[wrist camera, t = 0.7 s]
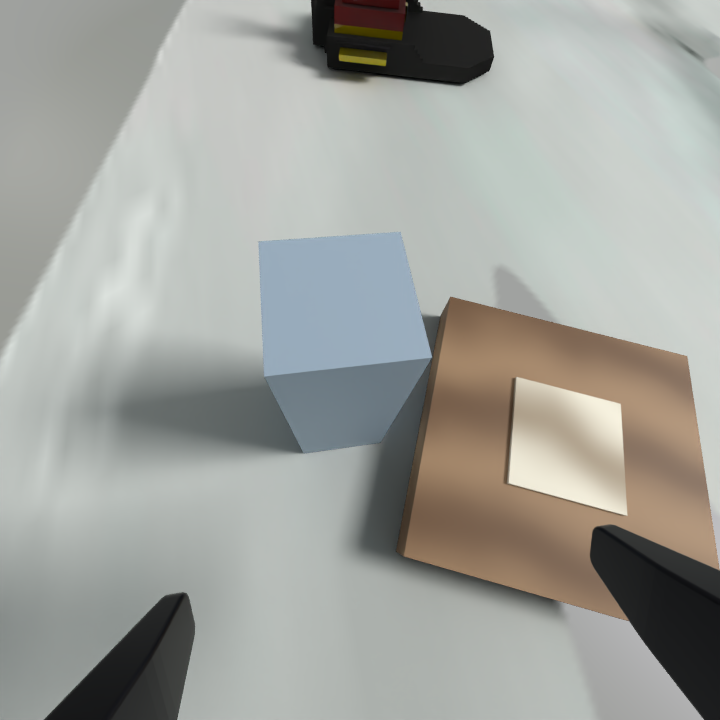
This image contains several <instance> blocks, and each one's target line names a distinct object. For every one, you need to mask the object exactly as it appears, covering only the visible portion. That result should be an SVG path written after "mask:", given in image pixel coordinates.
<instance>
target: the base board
mask: <svg viewBox="0 0 720 720" xmlns="http://www.w3.org/2000/svg"><path fill="white" fill-rule="evenodd" d="M608 524H613V525H616V526H618V527H621V528H623V529H625V530H628V531H630V532H632V533H635V534H637V535H639V536H641V537H644V538H646V539H648V540H651V541H653V542H655V543H658V544H660V545H662V546H665V547H667V548H669V549H672V550H674V551H676V552H679V553H681V554H683V555H685V556H688V557H690V558H692V559H695V560H697V561H699V562H702V563H704V564H706V565H709V566H711V567H713V568H716V569H718V570H720V569H719V563H718V557H717V550H716V543H715V536H714V530H713V523H712V517H711V510H710V503H709V497H708V490H707V484H706V477H705V471H704V464H703V457H702V451H701V444H700V438H699V431H698V424H697V418H696V411H695V405H694V398H693V392H692V385H691V378H690V372H689V365H688V359H687V356H684V355H680V354H676V353H672V352H668V351H664V350H660V349H656V348H652V347H648V346H644V345H640V344H637V343H633V342H629V341H625V340H621V339H617V338H613V337H609V336H605V335H601V334H597V333H593V332H589V331H585V330H581V329H577V328H573V327H569V326H565V325H561V324H557V323H553V322H549V321H545V320H541V319H537V318H533V317H529V316H525V315H521V314H517V313H513V312H509V311H505V310H501V309H497V308H493V307H489V306H485V305H481V304H477V303H473V302H469V301H465V300H461V299H457V298H453V297H450V299H449V301H448V303H447V304H446V306H445V308H444V310H443V312H442V314H441V316H440V321H439V327H438V332H437V337H436V342H435V348H434V353H433V358H432V364H431V369H430V374H429V379H428V385H427V390H426V395H425V401H424V406H423V411H422V417H421V422H420V427H419V432H418V438H417V443H416V448H415V454H414V459H413V464H412V469H411V475H410V480H409V485H408V491H407V496H406V501H405V506H404V512H403V517H402V522H401V528H400V533H399V538H398V543H397V549H396V552H397V553H399V554H401V555H402V556H404V557H408V558H411V559H415V560H418V561H422V562H425V563H429V564H432V565H436V566H439V567H443V568H446V569H449V570H453V571H456V572H460V573H463V574H467V575H470V576H474V577H477V578H481V579H484V580H488V581H491V582H495V583H498V584H502V585H505V586H508V587H512V588H515V589H519V590H522V591H526V592H529V593H533V594H536V595H540V596H543V597H547V598H550V599H554V600H557V601H561V602H564V603H567V604H571V605H574V606H578V607H581V608H585V609H589V610H592V611H595V612H599V613H602V614H606V615H609V616H613V617H616V618H619V619H623V620H627V621H629V620H628V618H627V617H626V615H625V614H624V612H623V611H622V609H621V608H620V606H619V605H618V603H617V602H616V600H615V599H614V598H613V596H612V595H611V593H610V592H609V590H608V589H607V587H606V586H605V584H604V583H603V581H602V580H601V578H600V577H599V575H598V574H597V572H596V571H595V569H594V567H593V565H592V563H591V560H590V547H591V538H592V531H593V529H594V528H595V527H596V526H601V525H608Z"/></svg>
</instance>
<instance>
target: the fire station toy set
mask: <svg viewBox="0 0 720 720" xmlns="http://www.w3.org/2000/svg"><path fill="white" fill-rule="evenodd" d="M311 7H312V27H313V45H321V46H325V53H327V63H328V67H329V68H337V69H346V70H355V71H364V72H372V73H381V74H390V75H399V76H408V77H416V78H425V79H434V80H443V81H451V82H460V83H466V82H469V80H472V78H473V79H475V77H478V76H481V74H484V73H486V72H487V71H488V72H489V70H490V67H491V64H492V61H493V58H494V54H493V47H492V41H491V34H490V31H489V30H487V29H485V28H484V27H481V25H478V24H477V23H474V21H471V19H468V17H465V16H463V15H455V14H446V13H438V12H430V11H422V10H423V7H421V6H420V2H418V0H311Z"/></svg>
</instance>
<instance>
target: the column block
mask: <svg viewBox="0 0 720 720" xmlns="http://www.w3.org/2000/svg"><path fill="white" fill-rule="evenodd" d="M259 265H260V289H261V313H262V337H263V361H264V377H265V379H266V381H267V383H268V385H269V387H270V389H271V391H272V393H273V395H274V397H275V399H276V400H277V402H278V404H279V406H280V408H281V410H282V412H283V414H284V416H285V418H286V420H287V422H288V424H289V426H290V428H291V430H292V432H293V434H294V436H295V437H296V439H297V441H298V443H299V445H300V447H301V449H302V451H303V453H311V452H318V451H325V450H332V449H339V448H346V447H354V446H361V445H368V444H375V443H380V442H381V441H382V439H383V438H384V436H385V434H386V433H387V431H388V429H389V428H390V426H391V424H392V423H393V421H394V419H395V418H396V416H397V415H398V413H399V411H400V410H401V408H402V406H403V405H404V403H405V401H406V400H407V398H408V397H409V395H410V393H411V392H412V390H413V388H414V387H415V385H416V383H417V382H418V380H419V378H420V377H421V375H422V374H423V372H424V370H425V369H426V367H427V365H428V364H429V362H430V360H431V359H432V355H431V351H430V347H429V343H428V339H427V335H426V331H425V327H424V323H423V319H422V315H421V311H420V307H419V303H418V299H417V295H416V292H415V288H414V284H413V280H412V276H411V272H410V268H409V264H408V260H407V256H406V252H405V248H404V244H403V240H402V236H401V232H392V233H377V234H363V235H348V236H333V237H318V238H304V239H289V240H274V241H259Z"/></svg>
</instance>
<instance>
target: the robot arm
mask: <svg viewBox="0 0 720 720" xmlns="http://www.w3.org/2000/svg"><path fill="white" fill-rule="evenodd" d="M590 560H591V563H592V565H593V567H594V569H595V571H596V572H597V574H598V575H599V577H600V578H601V580H602V581H603V583H604V584H605V586H606V587H607V589H608V590H609V592H610V593H611V595H612V596H613V598H614V599H615V600H616V602H617V603H618V605H619V606H620V608H621V609H622V611H623V612H624V614H625V615H626V617H627V618H628V620H629V621H630V623H631V624H632V626H633V627H634V629H635V630H636V632H637V633H638V635H639V636H640V637H641V639H642V640H643V641H644V643H645V644H646V646H647V647H648V648H649V650H650V651H651V652H652V654H653V655H654V656H655V657H656V659H657V660H658V661H659V663H660V664H661V665H662V666H663V668H664V669H665V670H666V672H667V673H668V674H669V675H670V677H671V678H672V679H673V680H674V682H675V683H676V684H677V686H678V687H679V688H680V689H681V691H682V692H683V693H684V695H685V696H686V697H687V698H688V700H689V701H690V702H691V704H692V705H693V706H694V707H695V709H696V710H697V711H698V712H699V714H700V715H701V716H702V718H703V719H704V720H720V570H718V569H716V568H713V567H711V566H709V565H706V564H704V563H702V562H699V561H697V560H695V559H692V558H690V557H688V556H685V555H683V554H681V553H679V552H676V551H674V550H672V549H669V548H667V547H665V546H662V545H660V544H658V543H655V542H653V541H651V540H648V539H646V538H644V537H641V536H639V535H637V534H635V533H632V532H630V531H628V530H625V529H623V528H621V527H618V526H616V525H613V524H608V525H601V526H596V527H595V528H594V529H593V531H592V538H591V547H590ZM194 635H195V622H194V618H193V613H192V609H191V604H190V600H189V596H188V595H187V593H184V592H182V593H176V594H169V595H166V596H164V597H163V598H162V599H161V600H160V601H159V602H158V603H157V604H156V605H155V606H154V607H153V608H152V609H151V610H150V611H149V612H148V613H147V614H146V615H145V616H144V617H143V618H142V619H141V620H140V621H139V622H138V623H137V624H136V625H135V626H134V627H133V628H132V629H131V630H130V631H129V633H128V634H127V635H126V636H125V637H124V638H123V639H122V640H121V641H120V642H119V643H118V644H117V645H116V646H115V647H114V648H113V649H112V650H111V651H110V652H109V653H108V654H107V655H106V656H105V657H104V658H103V659H102V660H101V661H100V662H99V663H98V664H97V665H96V667H95V668H94V669H93V670H92V671H91V672H90V673H89V674H88V675H87V676H86V677H85V678H84V679H83V680H82V681H81V682H80V683H79V684H78V685H77V686H76V687H75V688H74V689H73V690H72V691H71V692H70V693H69V694H68V695H67V696H66V697H65V698H64V700H63V701H62V702H61V703H60V704H59V705H58V706H57V707H56V708H55V709H54V710H53V711H52V712H51V713H50V714H49V715H48V716H47V717H46V718H45V719H44V720H177V718H178V713H179V708H180V703H181V699H182V694H183V689H184V684H185V679H186V674H187V670H188V665H189V660H190V655H191V650H192V645H193V641H194Z"/></svg>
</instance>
